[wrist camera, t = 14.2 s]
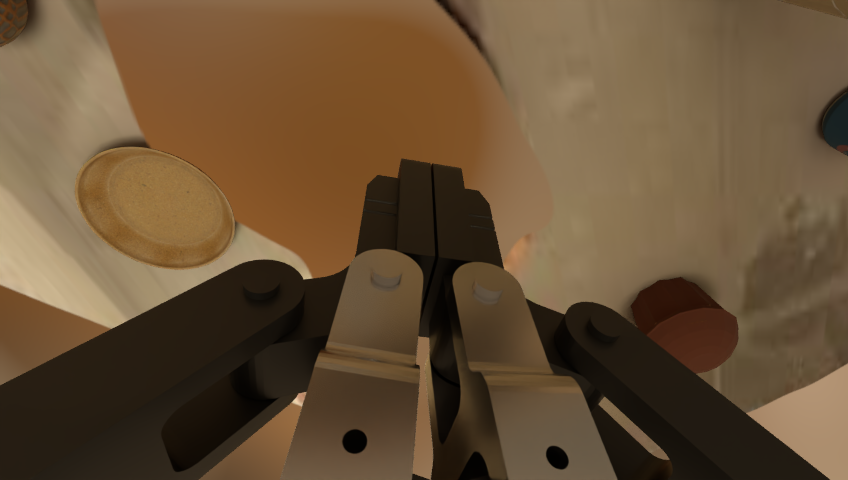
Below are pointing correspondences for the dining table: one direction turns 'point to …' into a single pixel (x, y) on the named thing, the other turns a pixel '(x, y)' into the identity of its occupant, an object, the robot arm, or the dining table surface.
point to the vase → (12, 19)
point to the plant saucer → (155, 208)
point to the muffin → (686, 323)
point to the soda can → (837, 124)
